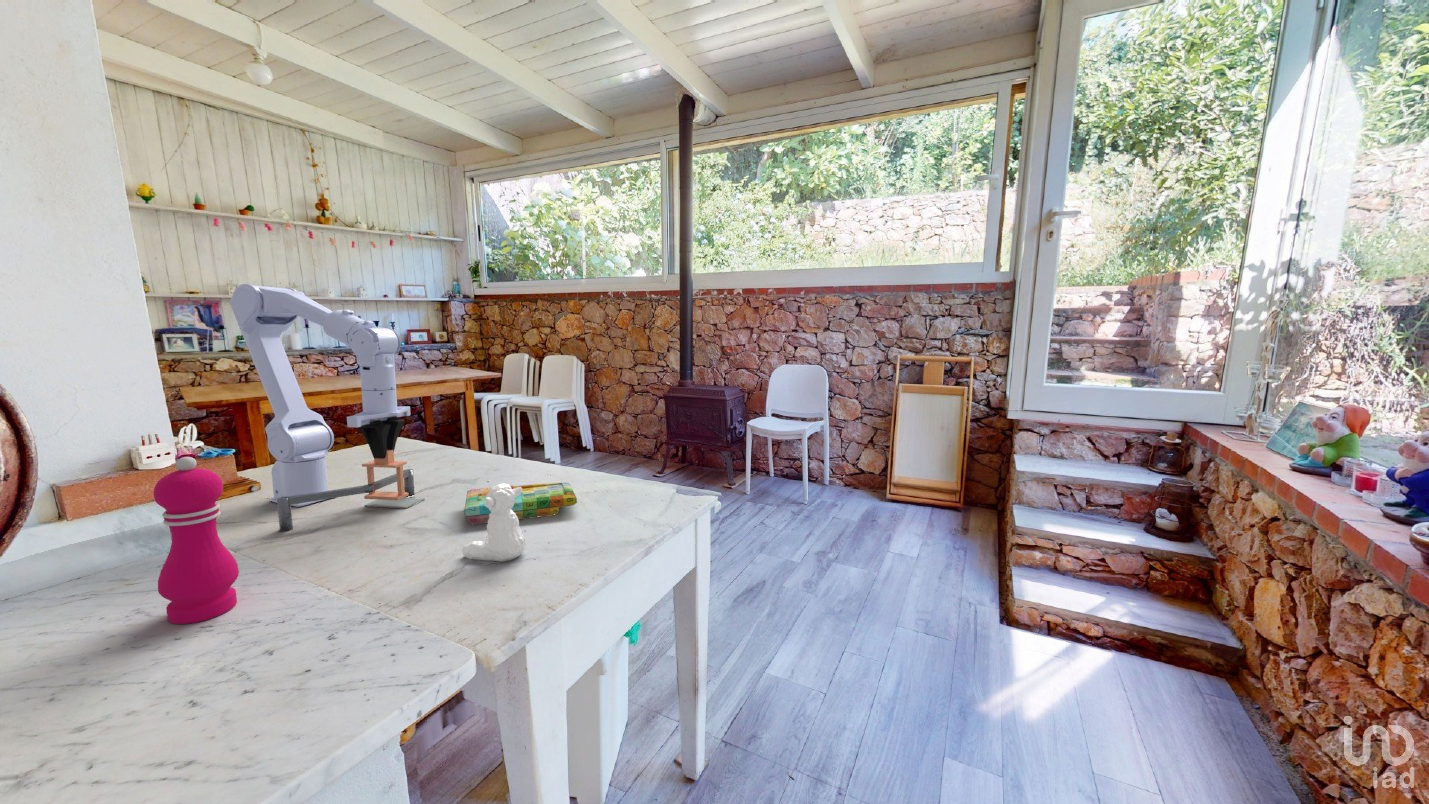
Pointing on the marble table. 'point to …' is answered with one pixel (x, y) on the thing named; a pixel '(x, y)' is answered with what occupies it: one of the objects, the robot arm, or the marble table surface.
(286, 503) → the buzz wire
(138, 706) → the marble table surface
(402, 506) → the pad
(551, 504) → the puzzle game
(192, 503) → the pepper mill
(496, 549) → the sitting furry creature
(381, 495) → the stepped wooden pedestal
